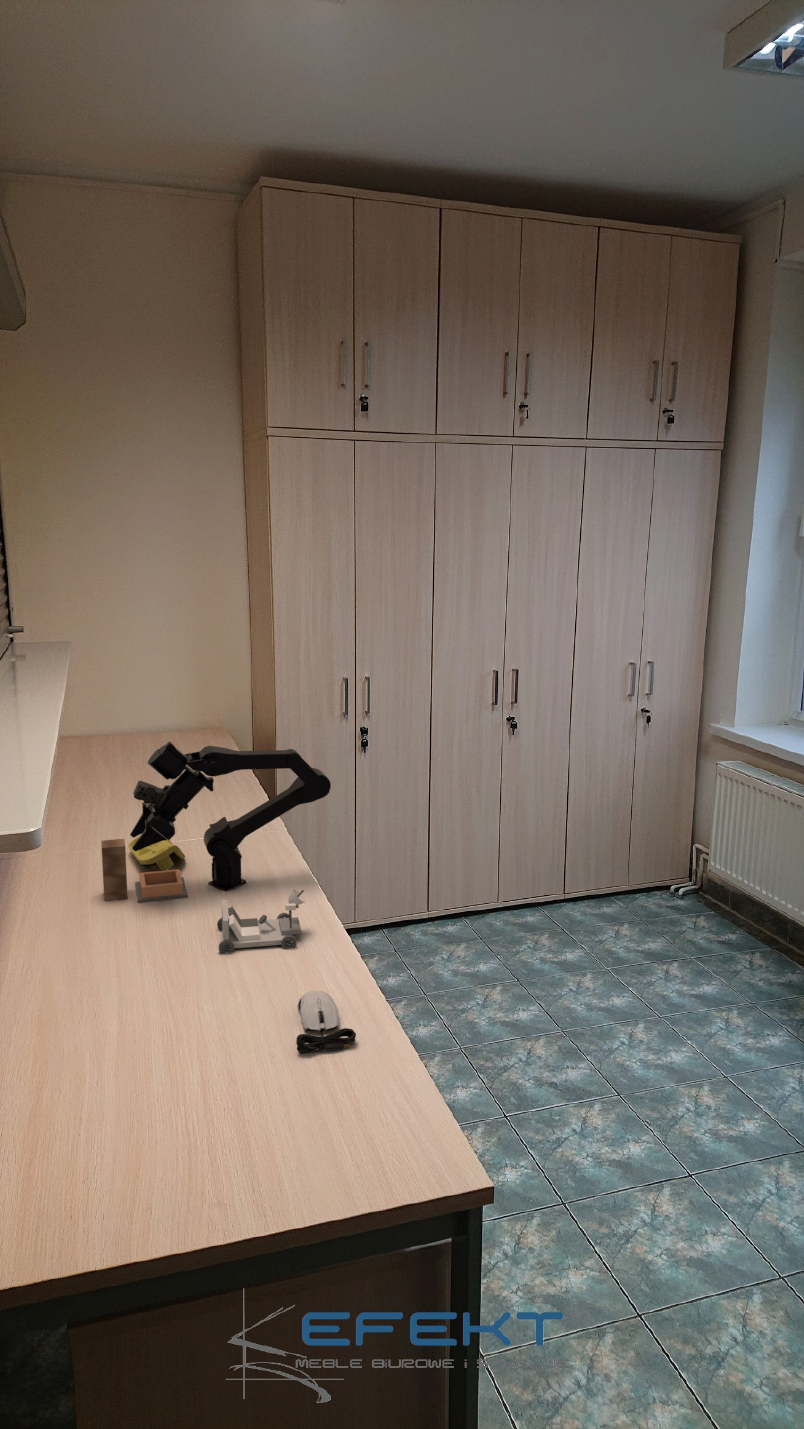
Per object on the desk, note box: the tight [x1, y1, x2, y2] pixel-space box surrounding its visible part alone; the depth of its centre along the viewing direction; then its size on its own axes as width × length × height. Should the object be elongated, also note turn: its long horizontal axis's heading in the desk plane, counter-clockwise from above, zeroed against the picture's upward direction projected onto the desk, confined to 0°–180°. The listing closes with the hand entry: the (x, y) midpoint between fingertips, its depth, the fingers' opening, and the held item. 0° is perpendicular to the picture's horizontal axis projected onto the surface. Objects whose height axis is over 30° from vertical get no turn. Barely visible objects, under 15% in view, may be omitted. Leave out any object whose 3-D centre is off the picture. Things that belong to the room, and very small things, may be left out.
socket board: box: [134, 868, 189, 904], centre depth 213 cm, size 11×11×3 cm
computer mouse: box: [295, 990, 357, 1054], centre depth 159 cm, size 10×18×4 cm, turn 15°
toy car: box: [216, 887, 306, 954], centre depth 190 cm, size 18×10×12 cm
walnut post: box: [100, 838, 129, 902], centre depth 209 cm, size 5×5×12 cm
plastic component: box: [127, 834, 186, 871], centre depth 231 cm, size 20×7×10 cm
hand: (132, 842), depth 209 cm, fingers open, 9 cm apart
